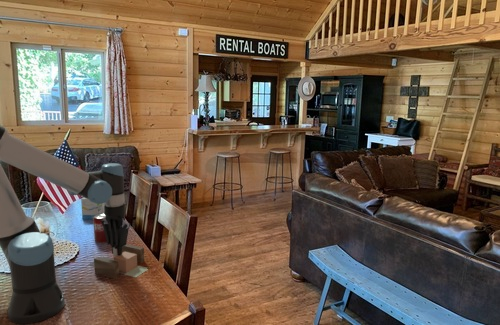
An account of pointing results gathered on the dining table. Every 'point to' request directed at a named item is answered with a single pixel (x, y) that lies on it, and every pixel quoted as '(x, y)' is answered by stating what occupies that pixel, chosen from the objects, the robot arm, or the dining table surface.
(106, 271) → the tunnel walls
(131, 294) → the dining table surface
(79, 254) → the dining table surface
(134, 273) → the mat
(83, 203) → the ink box
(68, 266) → the dining table surface
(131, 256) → the terracotta block
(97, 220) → the soda can
